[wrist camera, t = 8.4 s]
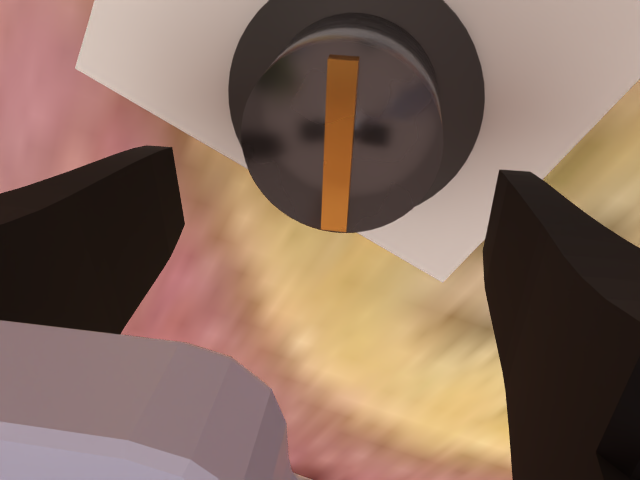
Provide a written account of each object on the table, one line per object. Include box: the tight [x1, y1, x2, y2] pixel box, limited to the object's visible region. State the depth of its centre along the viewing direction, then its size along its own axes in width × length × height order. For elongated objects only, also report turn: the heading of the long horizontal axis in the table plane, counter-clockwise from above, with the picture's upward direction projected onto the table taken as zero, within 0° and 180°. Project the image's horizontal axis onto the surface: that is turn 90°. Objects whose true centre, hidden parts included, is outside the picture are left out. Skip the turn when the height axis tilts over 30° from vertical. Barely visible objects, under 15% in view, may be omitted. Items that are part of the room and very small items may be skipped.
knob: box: [241, 13, 443, 233], centre depth 15 cm, size 5×5×4 cm
